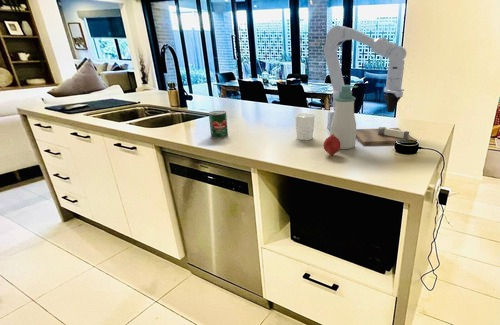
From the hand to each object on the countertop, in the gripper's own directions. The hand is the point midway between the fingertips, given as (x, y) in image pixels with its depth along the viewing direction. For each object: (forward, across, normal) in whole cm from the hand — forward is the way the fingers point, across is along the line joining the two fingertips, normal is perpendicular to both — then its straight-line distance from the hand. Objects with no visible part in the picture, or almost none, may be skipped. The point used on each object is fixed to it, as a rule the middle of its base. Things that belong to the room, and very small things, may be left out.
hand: (390, 111), depth 125 cm
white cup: (+10, -4, +36) cm, 37 cm away
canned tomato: (+10, +3, +74) cm, 75 cm away
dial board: (+9, -6, +5) cm, 12 cm away
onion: (+10, -25, +29) cm, 40 cm away
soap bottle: (+10, -15, +23) cm, 29 cm away
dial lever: (+8, -10, +2) cm, 12 cm away
